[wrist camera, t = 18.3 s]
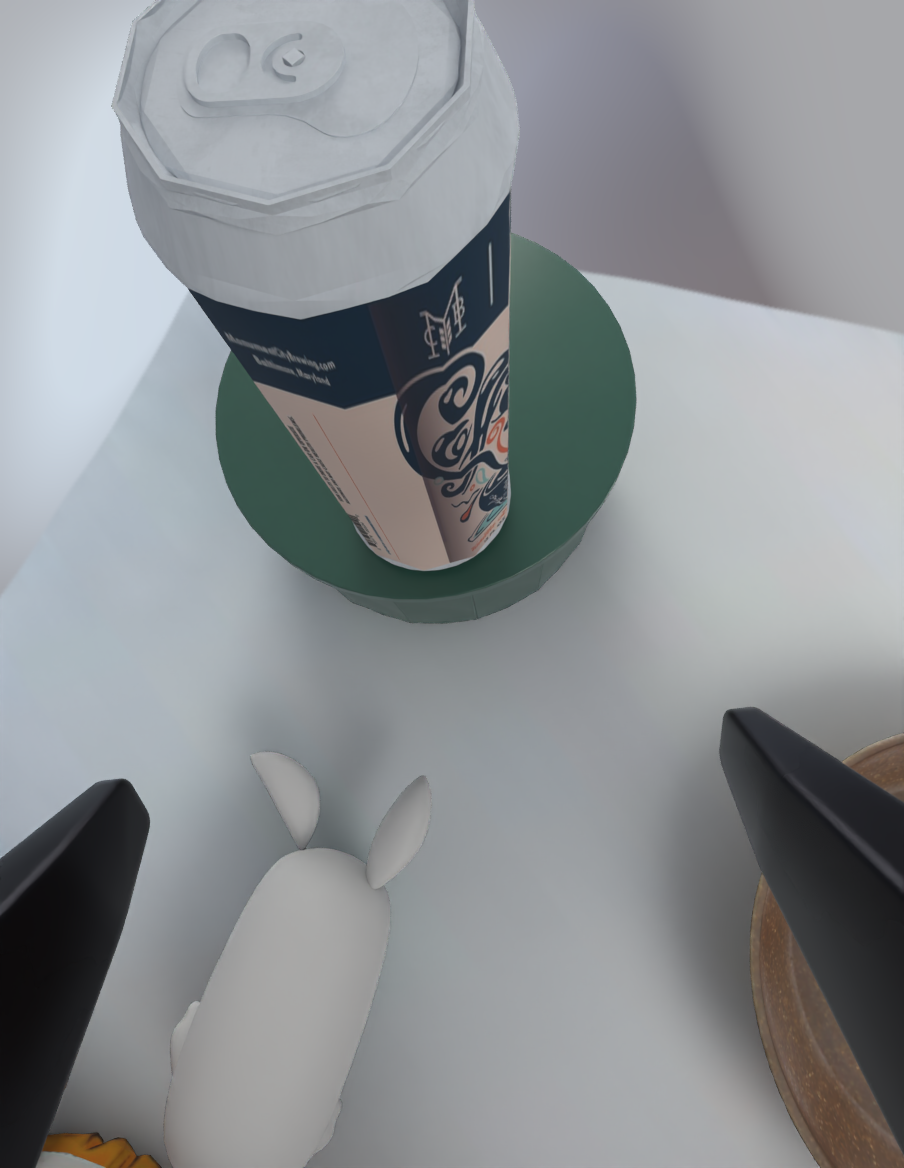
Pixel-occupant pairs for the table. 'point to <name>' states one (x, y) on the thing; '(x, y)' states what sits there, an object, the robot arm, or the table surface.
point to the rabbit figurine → (288, 990)
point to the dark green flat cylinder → (472, 604)
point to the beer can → (344, 238)
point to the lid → (535, 461)
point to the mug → (90, 1153)
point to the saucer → (819, 1022)
